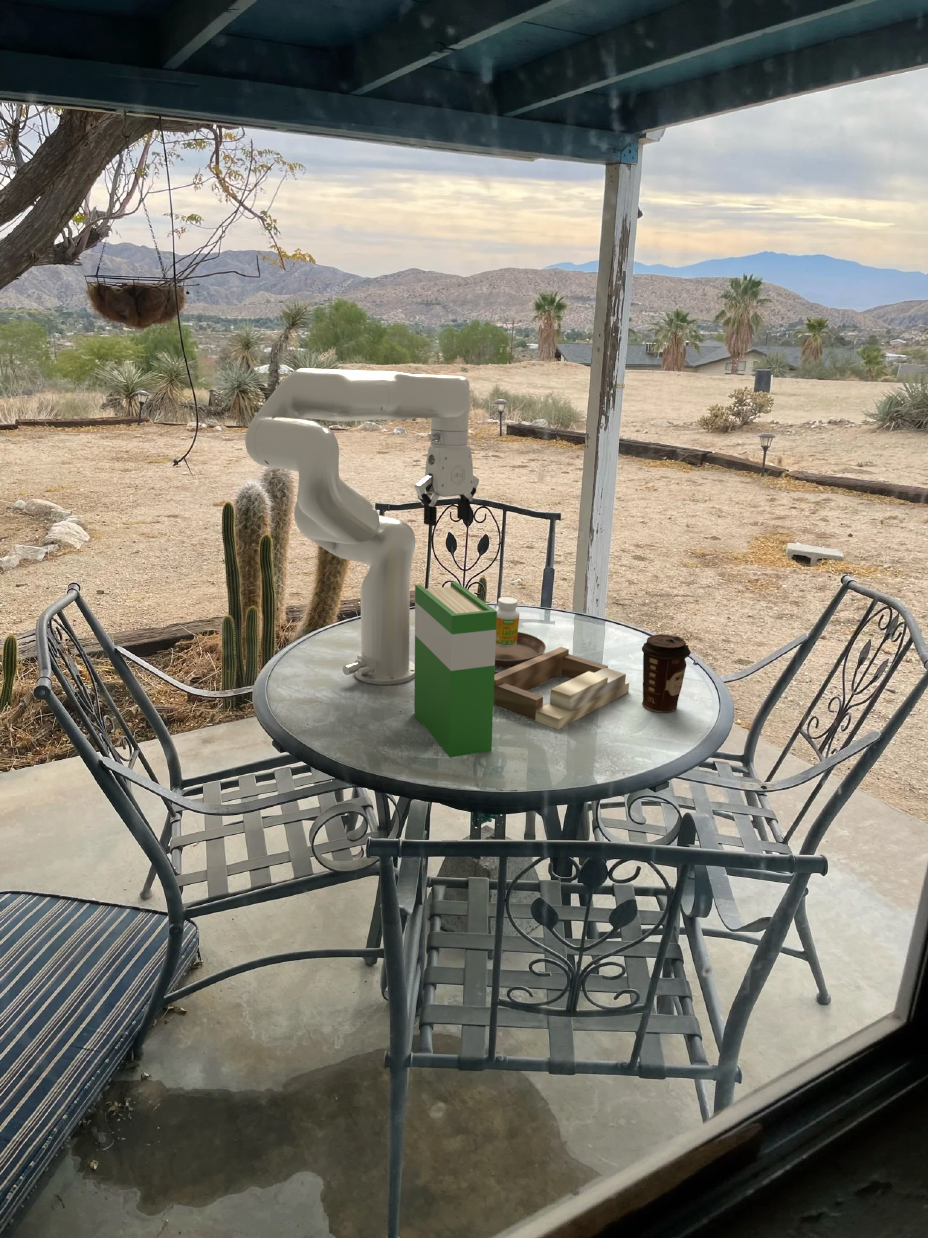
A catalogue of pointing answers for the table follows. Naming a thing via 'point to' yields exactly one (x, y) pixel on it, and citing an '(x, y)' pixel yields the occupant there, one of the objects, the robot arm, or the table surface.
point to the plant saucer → (519, 651)
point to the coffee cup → (663, 671)
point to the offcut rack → (558, 687)
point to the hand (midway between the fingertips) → (447, 522)
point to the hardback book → (455, 668)
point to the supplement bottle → (507, 622)
